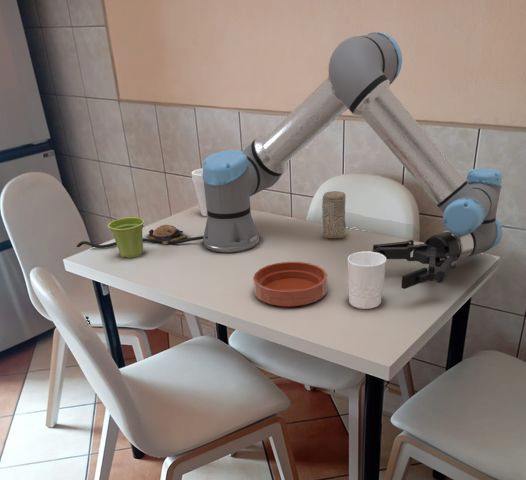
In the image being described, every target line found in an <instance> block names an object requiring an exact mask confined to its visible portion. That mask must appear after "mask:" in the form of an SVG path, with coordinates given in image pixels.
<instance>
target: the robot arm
mask: <svg viewBox="0 0 526 480" xmlns="http://www.w3.org/2000/svg"><path fill="white" fill-rule="evenodd" d="M402 55H403V54H402V51H401V48H400V45H399V44H398V42H397V41H396V40H395V39H394V37H392V36H391V35H389V34H387V33H384V32H378V31H373V32H369V33H368V34H363V35H357V36H351V37H348V38H346V39H344V40H343V41H341V42H340V43H339V44H338V45H337V46H336V47H335V48H334V50H333V52H332V53H331V56H330V58H329V62H328V77H326V79H324V80H323V81H322V82H321V83H320V84H319V85H318V86H317V87H316V88H315V89H313V91H312V92H311V93H310V94H309V95H307V97H306V98H304V99H303V100H302V102H300V104H298V105H297V106H296V107H295V108H294V109H293V110H292V111H291V112H290V113H289V114H288V115H287V116H286V117H284V119H282V121H280V123H279V124H278V125H277V126H276V127H275V128H273V129H272V130H271V131H270V132H269V133H268V134H267V135H265V134H261V135H258V136H257V137H255V138H254V139H253V140H252V141H251V142H250V143H249V144H248V145H247V146H246V147H245V148H244V149H243V150H239V149H226V150H222V151H217V152H213V153H211V154H210V155H208V156H206V157H205V159H204V160H203V162H202V168H203V175H202V177H203V180H204V189H205V198H206V207H207V216H206V217H207V218H206V222H205V227H204V231H203V235H199V236H194V237H193V236H192V237H186V238H183V239H181V240H176V241H169V240H165V241H166V242H168V244H167V245H175V244H177V245H178V244H184V243H189V242H194V241H201V240H203V241H202V243H203V247H204V248H205V249H206V250H208V251H211V252H216V253H225V254H226V253H228V254H229V253H238V252H239V253H240V252H244V251H248V250H250V249H252V248H254V247H257V246H258V244H259V242H260V234H259V230H258V228H257V225H256V223H255V220H254V218H253V216H252V213H251V212H252V211H251V197H252V196H254V195H256V194H258V193H260V192H261V191H264V190H267V189H269V188H271V187H273V186H274V185H275V184H277V182H278V181H279V180H280V179H281V177H282V175H283V174H285V172H286V171H287V170H288V168H289V161H291V160H292V159H293V158H294V157H295V156H296V155H297V154H298V153H300V152H301V151H302V150H303V149H304V148H305V147H307V146H308V145H309V144H310V143H311V142H312V141H313V140H315V138H317V137H318V136H319V135H320V134H321V133H322V132H323V131H325V130H326V129H327V128H328V127H329V126H330V125H331V124H333V123H334V122H335V121H336V120H337V119H338V118H340V116H342V115H343V114H344V113H345V112H346V111H347V110H349V111H350V113H351V114H352V115H353V116H354V117H361V118H362V119H363V120H364V121H365V122H366V123H367V125H368V126H369V127H370V128H371V129H372V131H373V132H375V133H374V134H375V135H377V137H378V138H379V139H380V140H381V141H382V142H383V143H384V145H385V146H386V147H387V149H388V150H389V151H390V152H391V153H392V154H393V155H394V157H395V158H396V159H397V160H398V161H399V162H400V164H401V165H402V166H403V167H404V168H405V169H406V171H407V172H408V173H409V174H410V176H411V177H412V178H413V179H414V181H416V183H417V184H418V185H419V186H420V187H421V188H422V190H423V192H425V194H427V196H428V197H429V198H430V200H432V201H433V203H434V204H435V205H436V206H437V208H438V209H439V210H440V211H441V212H442V222H443V226H444V227H445V228H446V230H444V231H441V232H439V233H435V234H433V235H430V236H429V237H428V238H427V239H426V241H424V243H419V244H415V240H414V239H408V240H404V241H397V242H396V241H395V242H387V243H386V242H385V243H377V244H376V243H375V244H373V245H372V250H371V252H376V253H380V254H382V255H384V256H385V257H386V260H406V261H407V262H418V263H420V264H423V265H428V267H422V268H419V269H417V270H414V271H412V272H408V273H406V274H404V275H402V276H401V289H403V290H406V289H407V288H411V287H414V286H416V285H418V284H423V283H425V282H433V281H434V280H435V282H436V283H438V284H443V283H444V281H445V280H446V278H447V276H448V275H449V273H450V271H452V270H454V269H455V268H457V262H459V261H461V260H464V259H467V258H470V257H473V256H475V255H478V254H480V253H481V254H482V253H485V252H487V251H489V250H491V249H493V248H495V247H496V246H497V245H499V243H500V242H501V240H502V239H503V234H504V233H503V229H502V225H501V223H500V222H499V220H497V219H496V218H497V212H498V206H499V200H500V196H501V195H500V194H501V189H502V187H503V186H502V180H503V174H502V172H501V171H500V170H498V169H496V168H489V167H477V168H473V169H470V170H469V171H468V173H467V175H466V178H465V177H464V176H463V175H462V174H461V172H460V171H459V170H458V169H457V168H456V166H455V165H454V164H453V163H452V162H451V161H450V159H449V158H448V157H447V155H445V154H444V152H443V151H442V150H441V148H439V146H438V145H437V144H436V143H435V141H434V140H433V139H432V138H431V137H430V136H429V134H428V133H427V132H426V131H425V130H424V128H423V127H422V126H421V125H420V124H419V122H418V121H417V120H416V119H415V118H414V116H413V115H412V114H411V113H410V111H409V110H408V109H407V108H406V107H405V106H404V104H403V103H402V102H401V101H400V100H399V98H398V97H397V96H396V95H395V94H394V93H393V92H392V91H391V89H390V86H391V85H392V84H393V83H394V82H395V81H396V79H397V78H398V76H399V75H400V72H401V70H402V64H403V56H402ZM163 241H164V240H158V239H151V238H148V237H147V238H145V237H143V242H147V243H160V244H163ZM83 245H88V246H90V247H92V248H96V249H107V248H113V247H115V246H117V244H116V241H114V242H111V243H107V244H97V243H94V242H90V241H86V240H82V241H80V242H78V243H77V244H76V248H80V247H81V246H83ZM411 253H412V256H411ZM436 268H438V270H436ZM89 318H90V317H89V316H86V315H85V320H86V319H87V320H86V322H87V321H88V322H89V324H90V325H91V321H90V320H89ZM91 326H92V325H91Z"/></svg>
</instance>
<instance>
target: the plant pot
mask: <svg viewBox="0 0 526 480" xmlns="http://www.w3.org/2000/svg"><path fill="white" fill-rule="evenodd" d="M144 224H145V220H144V219H143V218H141V217H137V216H136V217H135V216H132V217H131V216H130V217H122V218H118V219H115V220H112V221H110V222H109V223H108V224H107V228H108V229H109V230H110V232H111V234H112V236H113V238H114V242H116V244H117V245H116V246H117V249H118V253H119V255H120V257H122V258H128V259H132V258H136V257H139V256H141V254H143V253H144V241H143V238H144V237H143V228H144Z"/></svg>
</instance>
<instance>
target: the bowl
mask: <svg viewBox="0 0 526 480" xmlns="http://www.w3.org/2000/svg"><path fill="white" fill-rule="evenodd" d="M252 280H253V291H254V292H253V293H254V295H255V297H256V298H257V299H258V300H260V302H263V303H266V304H268V305H271V306H272V305H273V306H278V307H299V306H306V305H309V304H312V303H315V302H317V301H319V300H320V299H323V298H324V296H326V295H327V292H328V273H327V272H326V270H325V269H324V268H322V267H320V266H319V265H317V264H313V263H311V262H304V261H283V262H275V263H272V264H268V265H265V266H263V267H261V268H260V269H258V270H257V271H256V272H255V273H254V275H253V279H252Z"/></svg>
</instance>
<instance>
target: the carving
mask: <svg viewBox="0 0 526 480" xmlns="http://www.w3.org/2000/svg"><path fill="white" fill-rule="evenodd" d="M321 201H322V204H321V211H322V215H321V217H322V235H323V237H324V238H326V239H341V238H344V237H345V235H346V230H347V226H346V225H347V224H346V193H345V192H344V191H337V190H333V191H327V192H325V193H323V196H322V199H321Z"/></svg>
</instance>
